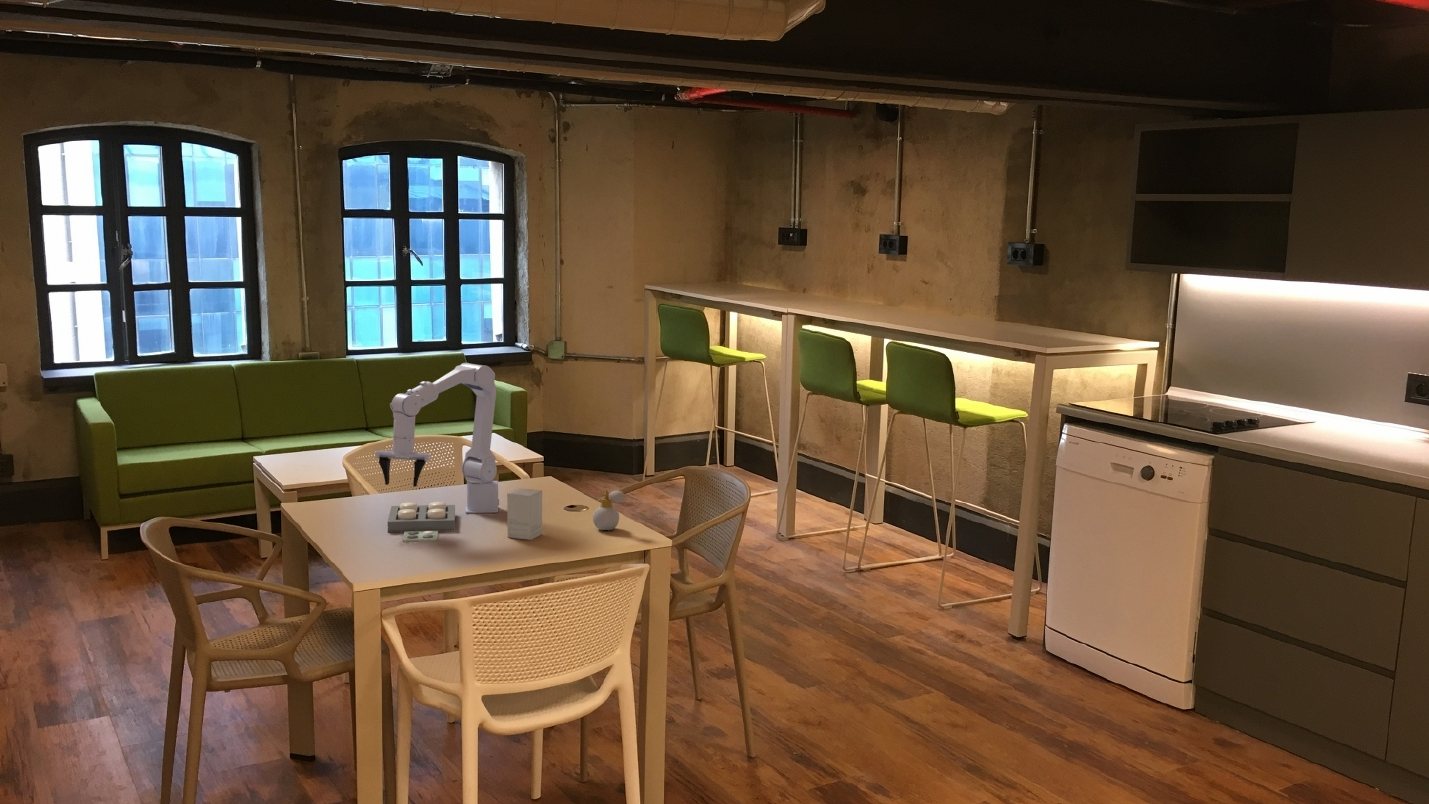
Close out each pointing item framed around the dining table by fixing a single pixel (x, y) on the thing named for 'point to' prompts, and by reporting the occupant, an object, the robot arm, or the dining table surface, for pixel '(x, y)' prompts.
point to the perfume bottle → (608, 511)
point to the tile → (420, 536)
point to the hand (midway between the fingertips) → (401, 485)
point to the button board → (421, 520)
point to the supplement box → (524, 513)
